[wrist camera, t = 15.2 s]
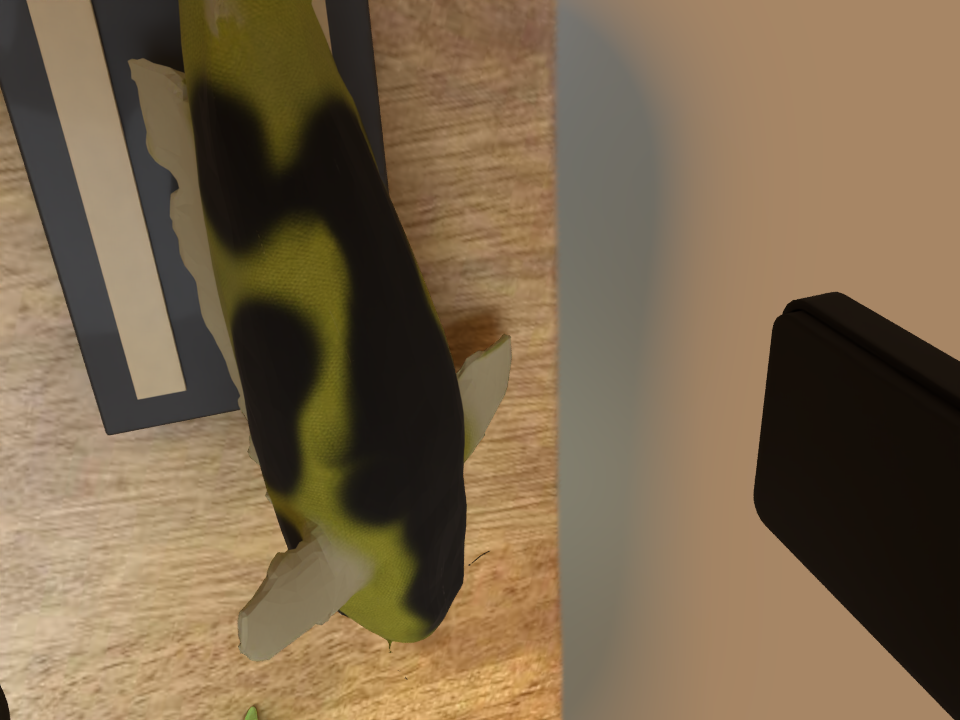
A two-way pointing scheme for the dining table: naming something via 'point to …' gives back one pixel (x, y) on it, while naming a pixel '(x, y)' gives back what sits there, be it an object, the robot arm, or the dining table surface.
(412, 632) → the fish
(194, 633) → the dining table surface
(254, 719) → the green kettle
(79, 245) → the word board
